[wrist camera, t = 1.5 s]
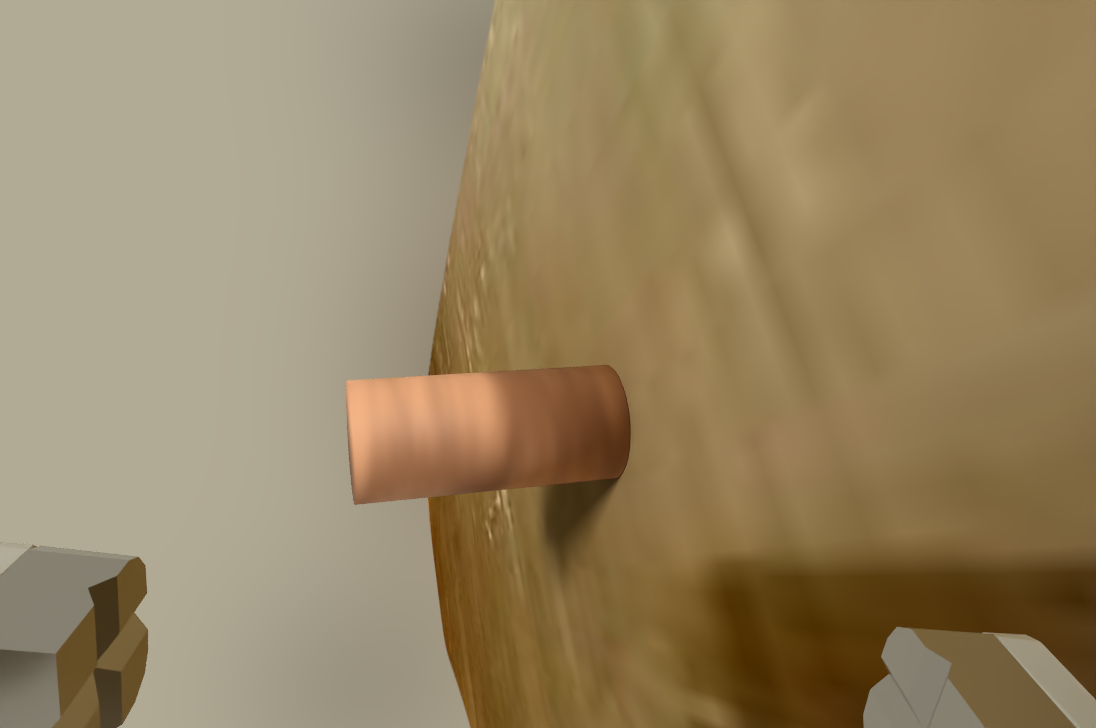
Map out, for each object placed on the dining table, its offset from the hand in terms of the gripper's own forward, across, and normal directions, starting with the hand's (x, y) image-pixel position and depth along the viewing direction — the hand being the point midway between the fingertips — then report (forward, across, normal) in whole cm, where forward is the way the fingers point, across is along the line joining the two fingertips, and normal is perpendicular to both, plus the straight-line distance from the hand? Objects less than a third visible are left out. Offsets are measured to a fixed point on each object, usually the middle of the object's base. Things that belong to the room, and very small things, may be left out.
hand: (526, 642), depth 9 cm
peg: (+22, +5, -7) cm, 24 cm away
